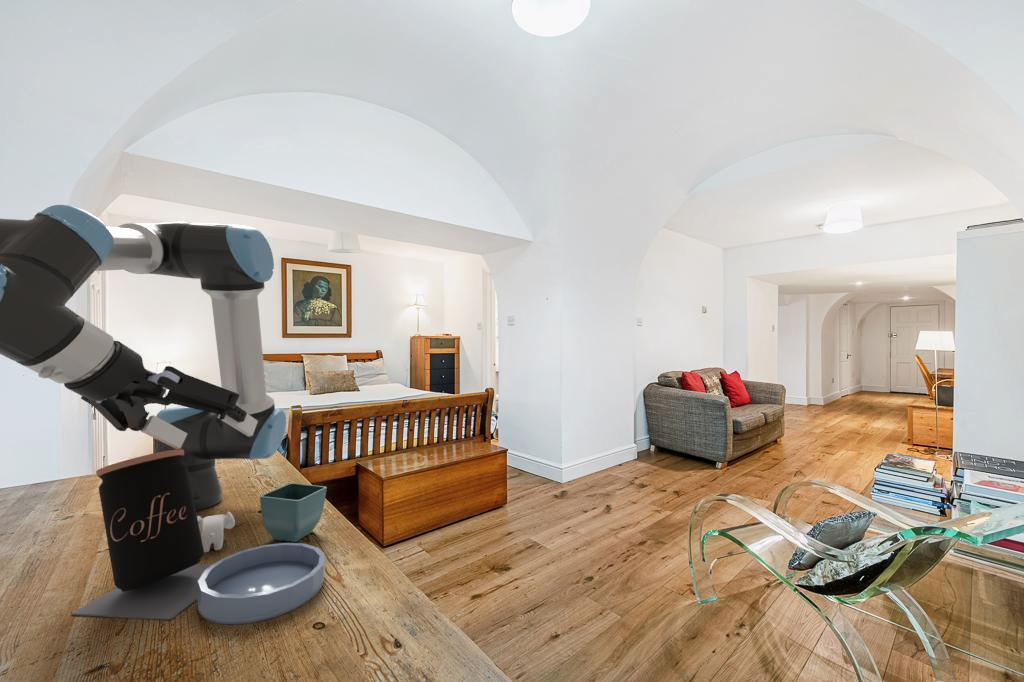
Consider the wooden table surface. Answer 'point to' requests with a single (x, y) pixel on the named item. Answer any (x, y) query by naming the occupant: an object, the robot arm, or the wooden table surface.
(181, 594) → the mat
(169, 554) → the coffee jar
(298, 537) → the flower pot
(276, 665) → the wooden table surface
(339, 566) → the wooden table surface
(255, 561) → the bowl
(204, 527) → the elephant figurine
